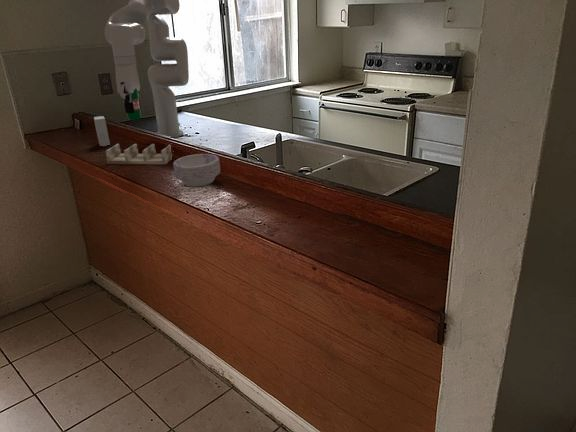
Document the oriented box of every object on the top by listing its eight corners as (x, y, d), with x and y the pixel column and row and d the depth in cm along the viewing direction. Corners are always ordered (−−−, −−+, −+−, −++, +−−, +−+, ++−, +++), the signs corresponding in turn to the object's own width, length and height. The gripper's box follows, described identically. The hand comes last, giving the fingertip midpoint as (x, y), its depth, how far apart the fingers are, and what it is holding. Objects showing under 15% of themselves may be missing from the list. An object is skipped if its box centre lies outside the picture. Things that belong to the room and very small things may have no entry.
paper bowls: (166, 183, 167) (163, 161, 164) (203, 172, 177) (201, 150, 174) (193, 193, 157) (190, 169, 154) (230, 181, 167) (228, 158, 164)
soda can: (133, 120, 184) (127, 87, 179) (125, 119, 187) (119, 87, 182) (144, 118, 188) (139, 85, 183) (136, 116, 191) (130, 85, 186)
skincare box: (98, 143, 220) (93, 117, 215) (108, 142, 222) (103, 115, 217) (100, 147, 215) (94, 119, 210) (110, 145, 217) (105, 118, 212)
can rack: (118, 156, 200) (116, 143, 198) (174, 156, 197) (173, 143, 195) (107, 163, 191) (104, 150, 189) (165, 164, 188) (163, 150, 186)
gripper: (126, 58, 187) (133, 107, 195) (104, 64, 172) (113, 116, 179) (144, 58, 186) (151, 106, 194) (124, 63, 171) (133, 116, 178)
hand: (133, 111), depth 186 cm, fingers closed on soda can, 5 cm apart
